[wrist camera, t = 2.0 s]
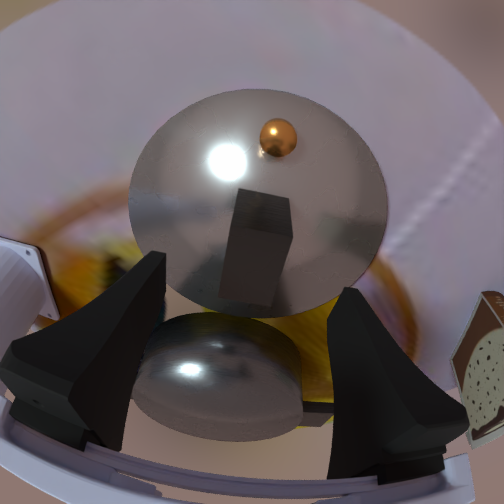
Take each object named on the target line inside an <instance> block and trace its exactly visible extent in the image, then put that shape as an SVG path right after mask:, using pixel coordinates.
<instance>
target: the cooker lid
mask: <svg viewBox="0 0 504 504" xmlns="http://www.w3.org/2000/svg"><path fill="white" fill-rule="evenodd" d="M128 206H129V217H130V222H131V226H132V231H133V234H134V236H135V239H136V242H137V244H138V246H139V248H140V250H141V252H142V254H143V256H145V255H147V254H148V253H149V252H150V251H151V250H154V251H158V252H163V253H167V254H166V283H167V284H168V285H169V286H170V287H171V288H173V289H174V290H175V291H177V292H178V293H180V294H181V295H182V296H184V297H186V298H188V299H189V300H191V301H193V302H195V303H197V304H199V305H201V306H203V307H206V308H208V309H211V310H214V311H217V312H220V313H224V314H228V315H233V316H239V317H247V318H276V317H283V316H289V315H293V314H297V313H301V312H305V311H307V310H310V309H313V308H316V307H318V306H320V305H322V304H324V303H326V302H328V301H330V300H332V299H333V298H335V297H336V296H338V295H340V294H341V292H342V290H343V288H344V287H350V286H351V285H352V284H353V283H354V282H355V281H356V280H357V279H358V278H359V277H360V276H361V275H362V274H363V272H364V271H365V270H366V268H367V267H368V266H369V265H370V263H371V261H372V259H373V258H374V256H375V254H376V253H377V250H378V248H379V245H380V243H381V241H382V238H383V234H384V230H385V226H386V218H387V195H386V189H385V185H384V180H383V177H382V174H381V171H380V169H379V166H378V163H377V161H376V160H375V158H374V156H373V154H372V152H371V151H370V149H369V147H368V146H367V145H366V143H365V142H364V141H363V140H362V138H361V137H360V136H359V135H358V133H357V132H356V131H355V130H354V129H352V128H351V127H350V126H349V125H348V124H347V123H346V122H345V121H344V120H343V119H342V118H340V117H339V116H338V115H336V114H335V113H333V112H332V111H330V110H329V109H327V108H326V107H324V106H322V105H320V104H318V103H316V102H314V101H312V100H310V99H308V98H305V97H302V96H299V95H295V94H292V93H289V92H284V91H278V90H271V89H241V90H234V91H227V92H223V93H220V94H216V95H213V96H210V97H207V98H205V99H202V100H200V101H198V102H196V103H194V104H192V105H190V106H188V107H187V108H185V109H184V110H182V111H181V112H179V113H178V114H176V115H175V116H173V117H172V118H170V119H169V120H168V121H167V122H166V123H165V124H164V125H163V126H162V127H161V128H159V129H158V130H157V132H156V133H155V134H154V135H153V136H152V138H151V139H150V140H149V142H148V143H147V144H146V146H145V147H144V149H143V151H142V153H141V155H140V156H139V158H138V160H137V163H136V166H135V168H134V171H133V174H132V178H131V183H130V188H129V201H128Z"/></svg>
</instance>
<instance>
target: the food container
mask: <svg viewBox="0 0 504 504" xmlns="http://www.w3.org/2000/svg"><path fill="white" fill-rule="evenodd" d="M450 362H451V365H452V369H453V372H454V375H455V379H456V382H457V386H458V389H459V393H460V397H461V402H462V405H463V406H465V407H466V411H467V414H468V418H469V422H470V426H469V428H468V432H466V433H465V434H466V437H467V439H468V442H469V444H471V448H472V449H475V448H477V447H480V446H482V445H484V444H486V443H488V442H490V441H492V440H494V439H496V438H498V437H500V436H501V435H503V434H504V296H503V295H502V294H501V293H499V292H496V291H485V292H481V293H480V296H479V298H478V301H477V303H476V305H475V308H474V310H473V312H472V315H471V317H470V319H469V321H468V324H467V326H466V328H465V330H464V332H463V334H462V336H461V338H460V340H459V342H458V344H457V346H456V348H455V350H454V352H453V354H452V356H451V358H450Z"/></svg>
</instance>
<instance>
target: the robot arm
mask: <svg viewBox="0 0 504 504" xmlns="http://www.w3.org/2000/svg"><path fill="white" fill-rule="evenodd" d="M166 254H167V253H163V252H158V251H154V250H151V251H150V252H149V253H148V254H147V255H145V256H144V257H143V258H142V259H141V260H140V261H139V262H138V263H137V264H136V265H135V266H134V267H133V268H132V269H130V270H129V271H128V272H127V273H126V274H125V275H124V276H122V277H121V278H120V279H119V280H118V281H117V282H116V283H114V284H113V285H112V286H111V287H109V288H108V289H107V290H106V291H104V292H103V293H102V294H101V295H99V296H98V297H96V298H95V299H94V300H92V301H91V302H90V303H88V304H87V305H85V306H84V307H82V308H81V309H79V310H77V311H76V312H74V313H72V314H71V315H69V316H67V317H65V318H64V319H62V320H60V321H58V322H56V323H54V324H52V325H50V326H48V327H46V328H44V329H42V330H39V331H37V332H35V333H32V334H29V335H27V336H26V334H27V332H28V331H29V329H30V327H31V326H32V324H33V322H34V321H35V319H36V317H37V316H38V314H39V315H42V316H44V317H47V318H50V319H53V320H58V319H59V318H60V315H59V312H58V310H57V307H56V304H55V301H54V298H53V295H52V292H51V289H50V286H49V283H48V280H47V276H46V273H45V270H44V266H43V263H42V259H41V255H40V252H39V250H38V249H37V248H36V247H34V246H31V245H27V244H23V243H19V242H16V241H12V240H8V239H5V238H1V237H0V465H1V466H2V467H4V468H5V469H7V470H8V471H10V472H11V473H13V474H14V475H16V476H18V477H19V478H21V479H22V480H24V481H26V482H28V483H29V484H31V485H33V486H35V487H36V488H38V489H40V490H42V491H43V492H45V493H47V494H49V495H51V496H53V497H55V498H57V499H59V500H61V501H63V502H65V503H67V504H202V503H195V502H188V501H182V500H176V499H171V498H165V497H162V493H161V492H160V491H158V490H156V487H155V486H154V485H152V484H149V483H146V482H143V481H140V480H137V479H134V478H131V477H129V476H126V475H130V476H133V477H136V478H140V479H143V480H147V481H151V482H155V483H159V484H164V485H168V486H173V487H178V488H183V489H188V490H194V491H200V492H206V493H213V494H221V495H229V496H240V497H252V498H271V499H272V498H274V499H310V498H331V497H340V498H334V499H326V500H318V501H317V502H315V503H312V504H469V503H471V502H473V501H474V500H475V493H474V486H473V480H472V474H471V468H470V463H469V458H468V454H467V453H463V454H460V455H456V456H452V457H449V458H446V459H444V460H443V455H442V454H444V453H446V444H448V443H449V442H451V441H453V440H454V439H456V438H457V437H459V436H460V435H462V434H463V433H464V432H465V431H467V430H468V428H469V426H470V422H469V418H468V414H467V411H466V407H465V406H463V405H462V404H460V403H459V402H457V401H456V400H455V399H453V398H452V397H450V396H449V395H448V394H446V393H445V392H444V391H443V390H442V389H440V388H439V387H438V386H437V385H436V384H434V383H433V382H432V381H431V380H430V379H429V378H428V377H427V376H426V375H425V374H424V373H423V372H422V371H421V370H420V369H419V368H418V367H417V366H416V365H415V364H414V363H413V362H412V361H411V360H410V359H409V357H408V356H407V355H406V354H405V353H404V352H403V351H402V349H401V348H400V347H399V346H398V344H397V343H396V342H395V340H394V339H393V338H392V337H391V335H390V334H389V332H388V331H387V330H386V328H385V327H384V326H383V324H382V323H381V321H380V320H379V318H378V317H377V316H376V314H375V313H374V311H373V310H372V308H371V307H370V305H369V304H368V302H367V301H366V300H365V298H364V297H363V295H362V294H361V293H360V291H359V290H358V289H356V288H350V287H344V288H343V290H342V292H341V294H340V296H339V298H338V300H337V302H336V304H335V306H334V308H333V309H332V311H331V313H330V315H329V317H328V319H327V343H328V351H329V358H330V365H331V373H332V381H333V390H334V421H333V438H332V448H331V456H330V463H329V469H328V475H327V480H273V479H256V478H245V477H234V476H226V475H219V474H211V473H205V472H199V471H193V470H188V469H183V468H178V467H173V466H168V465H164V464H160V463H155V462H152V461H148V460H144V459H140V458H137V457H133V456H130V455H126V454H123V453H120V452H119V451H121V449H122V441H123V434H124V427H125V422H126V417H127V412H128V407H129V402H130V398H131V393H132V389H133V385H134V381H135V377H136V373H137V369H138V366H139V363H140V360H141V357H142V354H143V352H144V349H145V347H146V344H147V342H148V339H149V337H150V335H151V332H152V330H153V327H154V325H155V323H156V320H157V318H158V315H159V313H160V310H161V306H162V303H163V299H164V296H165V292H166ZM7 388H8V389H9V390H10V391H11V392H12V393H13V395H14V396H15V400H14V402H13V403H12V402H11V401H10V400H8V399H7V398H5V396H4V394H5V392H6V390H7ZM118 472H119V473H118ZM120 473H122V474H120ZM123 474H126V475H123Z"/></svg>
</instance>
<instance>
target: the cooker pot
mask: <svg viewBox="0 0 504 504" xmlns="http://www.w3.org/2000/svg"><path fill="white" fill-rule="evenodd" d="M130 399H134V401H135V403H136V404H137V406H138V407H139V408H140V409H141V410H142V411H143V412H144V413H145V414H146V415H148V416H149V417H150V418H152V419H153V420H155V421H157V422H159V423H160V424H162V425H164V426H166V427H169V428H171V429H174V430H176V431H179V432H182V433H185V434H188V435H192V436H196V437H200V438H205V439H211V440H218V441H235V442H241V441H243V442H245V441H257V440H264V439H269V438H273V437H277V436H280V435H283V434H285V433H287V432H289V431H291V430H293V429H294V428H296V427H297V426H310V427H321V426H322V425H323V424H324V423H325V422H326V421H327V420H328V419H330V418H331V417H332V416H333V415H334V403H328V402H309V401H303V399H302V377H301V358H300V354H299V351H298V350H297V348H296V346H295V345H294V343H293V342H292V341H291V340H290V339H289V338H288V337H287V336H286V335H284V334H283V333H281V332H280V331H278V330H277V329H275V328H273V327H271V326H269V325H267V324H265V323H262V322H260V321H257V320H254V319H251V318H247V317H239V316H233V315H228V314H224V313H215V312H202V313H191V314H185V315H181V316H177V317H174V318H171V319H169V320H167V321H165V322H163V323H162V324H160V325H159V326H158V327H156V329H155V330H154V331H153V332H152V334H151V336H150V338H149V341H148V344H147V347H146V350H145V353H144V356H143V359H142V362H141V365H140V368H139V371H138V374H137V373H136V377H135V381H134V385H133V389H132V393H131V398H130Z"/></svg>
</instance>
